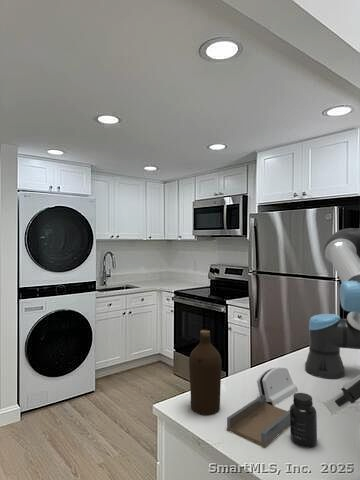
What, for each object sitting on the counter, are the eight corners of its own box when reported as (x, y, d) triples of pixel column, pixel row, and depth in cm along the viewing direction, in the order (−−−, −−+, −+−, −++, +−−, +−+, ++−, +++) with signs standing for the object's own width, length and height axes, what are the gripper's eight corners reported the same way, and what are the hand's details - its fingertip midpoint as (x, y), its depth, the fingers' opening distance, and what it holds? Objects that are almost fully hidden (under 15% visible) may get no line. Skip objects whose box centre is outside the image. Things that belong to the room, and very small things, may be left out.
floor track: (262, 405, 110) (262, 394, 110) (297, 418, 102) (297, 406, 102) (227, 430, 96) (227, 417, 96) (264, 447, 87) (264, 434, 87)
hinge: (273, 406, 109) (264, 375, 112) (261, 406, 112) (253, 375, 115) (298, 391, 120) (289, 362, 123) (287, 391, 124) (279, 363, 126)
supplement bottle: (297, 430, 95) (297, 388, 95) (321, 440, 90) (321, 396, 90) (285, 440, 90) (285, 396, 91) (310, 451, 86) (309, 405, 86)
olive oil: (225, 415, 104) (224, 335, 104) (191, 417, 103) (191, 336, 103) (218, 399, 114) (217, 326, 114) (187, 401, 113) (186, 327, 113)
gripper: (413, 385, 63) (331, 434, 73) (431, 353, 81) (363, 396, 91) (380, 351, 67) (307, 402, 77) (405, 328, 85) (343, 371, 95)
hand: (337, 399), depth 84 cm, fingers open, 13 cm apart
